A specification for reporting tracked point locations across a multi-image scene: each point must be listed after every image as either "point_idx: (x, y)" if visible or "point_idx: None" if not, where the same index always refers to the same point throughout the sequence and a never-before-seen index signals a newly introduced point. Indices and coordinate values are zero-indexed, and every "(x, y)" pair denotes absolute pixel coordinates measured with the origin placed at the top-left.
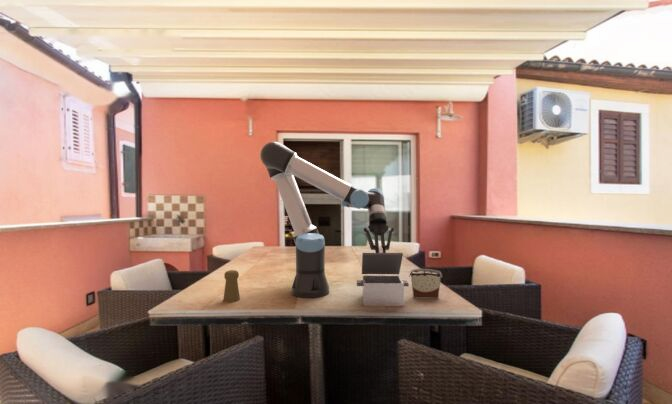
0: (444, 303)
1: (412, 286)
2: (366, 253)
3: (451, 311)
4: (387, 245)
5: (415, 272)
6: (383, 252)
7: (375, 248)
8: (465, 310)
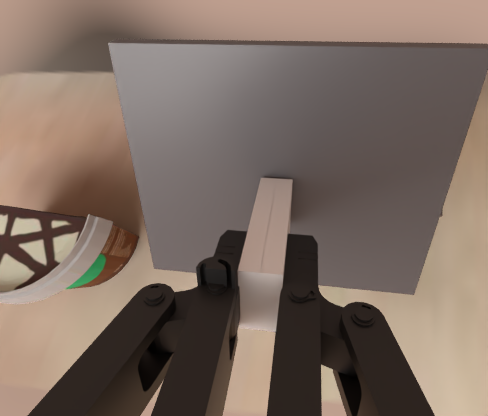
0: (48, 157)
1: (120, 229)
2: (448, 45)
3: (68, 74)
4: (164, 295)
5: (54, 254)
6: (238, 251)
7: (321, 295)
8: (18, 83)
